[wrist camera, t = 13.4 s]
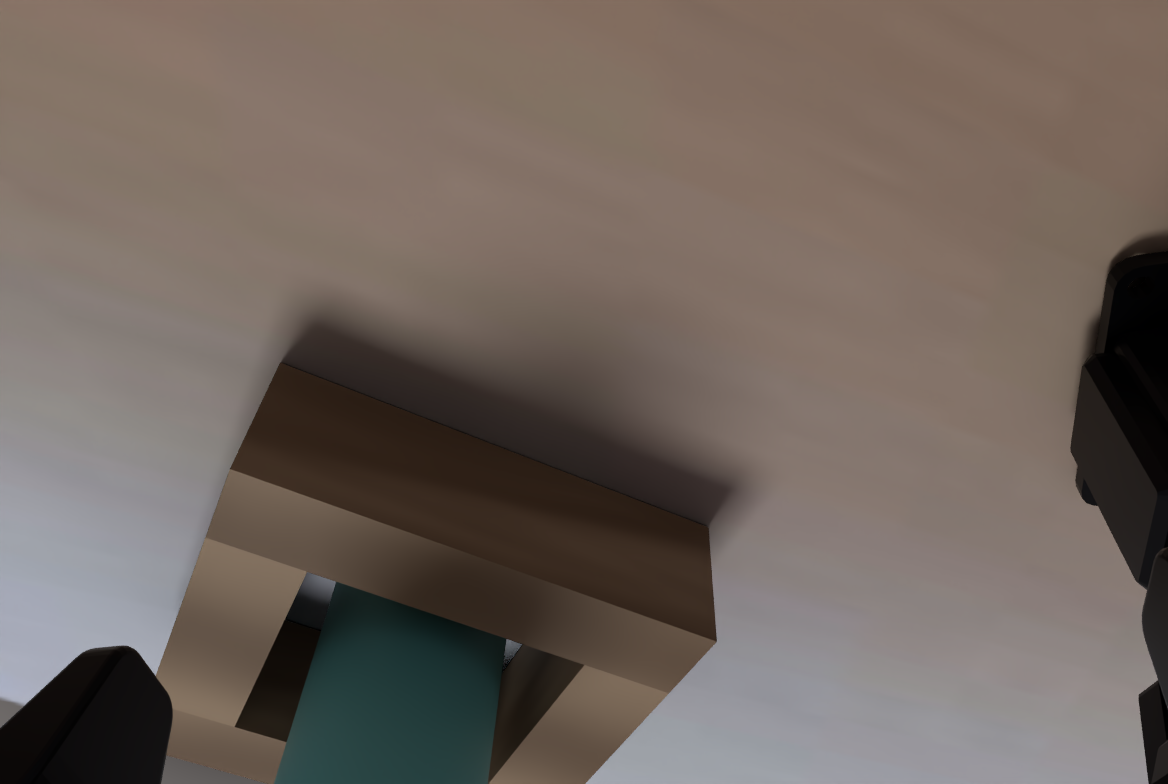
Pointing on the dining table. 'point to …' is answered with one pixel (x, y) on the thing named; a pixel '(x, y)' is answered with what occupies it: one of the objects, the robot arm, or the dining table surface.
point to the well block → (431, 582)
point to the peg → (394, 698)
